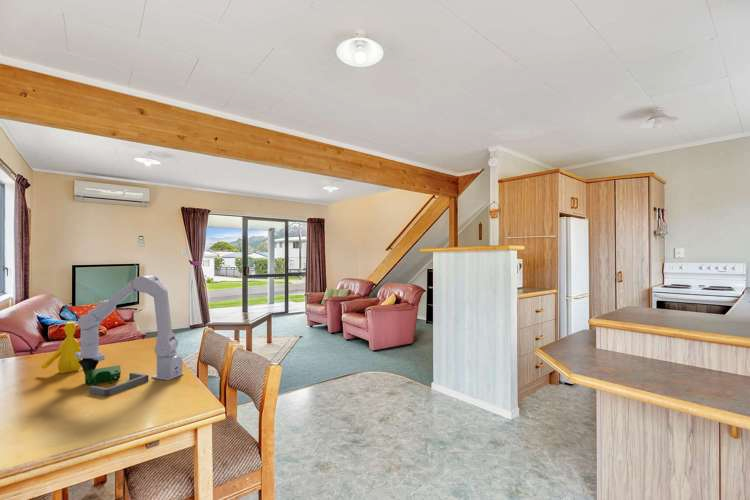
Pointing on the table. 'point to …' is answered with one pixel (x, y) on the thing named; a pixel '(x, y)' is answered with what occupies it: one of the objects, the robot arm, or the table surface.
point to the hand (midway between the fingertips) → (89, 376)
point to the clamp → (102, 375)
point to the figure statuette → (67, 352)
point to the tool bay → (120, 385)
